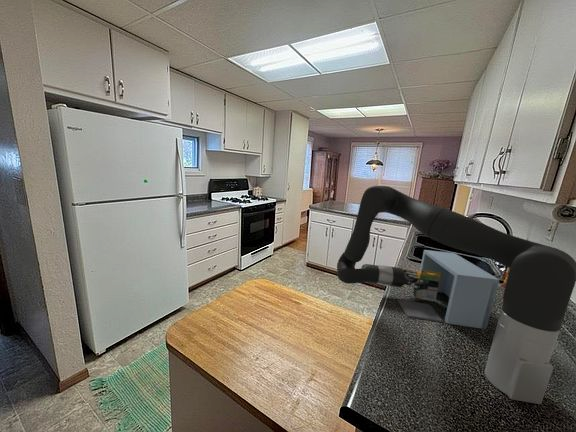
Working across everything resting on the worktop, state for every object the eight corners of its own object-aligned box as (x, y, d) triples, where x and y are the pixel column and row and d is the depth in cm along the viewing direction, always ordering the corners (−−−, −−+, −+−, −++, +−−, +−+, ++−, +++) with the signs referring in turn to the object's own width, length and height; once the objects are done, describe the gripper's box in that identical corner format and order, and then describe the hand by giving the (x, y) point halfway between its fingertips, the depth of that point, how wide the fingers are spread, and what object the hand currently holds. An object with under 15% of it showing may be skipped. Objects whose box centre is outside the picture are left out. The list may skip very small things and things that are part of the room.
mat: (442, 321, 79) (442, 320, 79) (407, 316, 80) (407, 315, 80) (428, 305, 88) (428, 304, 88) (397, 301, 90) (398, 299, 90)
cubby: (486, 329, 77) (499, 279, 73) (446, 323, 78) (458, 274, 75) (446, 291, 101) (454, 253, 98) (416, 287, 102) (424, 249, 99)
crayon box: (432, 296, 93) (438, 269, 91) (435, 300, 90) (442, 272, 88) (412, 293, 94) (418, 266, 92) (415, 297, 91) (421, 269, 89)
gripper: (396, 274, 85) (447, 281, 83) (385, 260, 99) (429, 266, 97) (392, 293, 86) (442, 301, 84) (382, 277, 100) (425, 283, 98)
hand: (435, 282), depth 91 cm, fingers closed on crayon box, 3 cm apart
